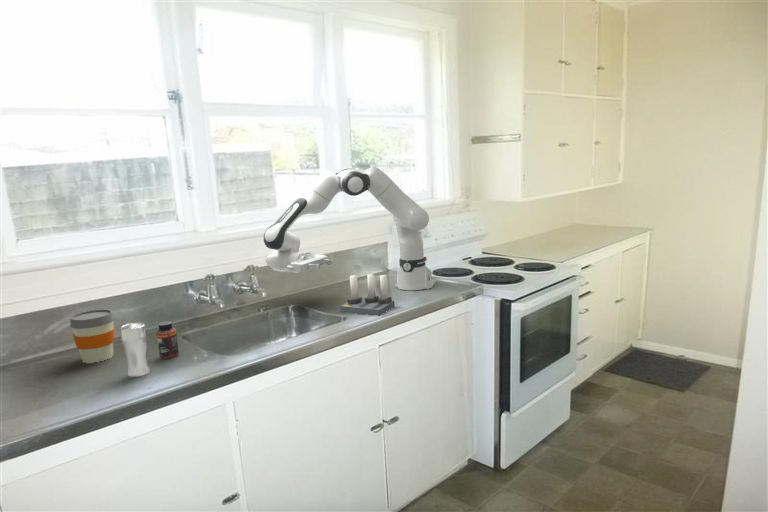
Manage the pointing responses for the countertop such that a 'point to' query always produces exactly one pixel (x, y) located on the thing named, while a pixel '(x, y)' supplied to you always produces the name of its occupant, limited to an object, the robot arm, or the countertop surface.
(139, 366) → the beer glass
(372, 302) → the switch console
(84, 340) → the reusable coffee cup
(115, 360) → the countertop surface
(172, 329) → the supplement bottle
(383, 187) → the robot arm
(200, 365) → the countertop surface
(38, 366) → the countertop surface
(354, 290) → the switch handle
